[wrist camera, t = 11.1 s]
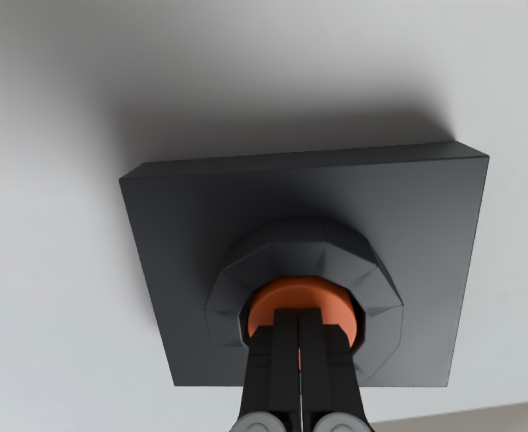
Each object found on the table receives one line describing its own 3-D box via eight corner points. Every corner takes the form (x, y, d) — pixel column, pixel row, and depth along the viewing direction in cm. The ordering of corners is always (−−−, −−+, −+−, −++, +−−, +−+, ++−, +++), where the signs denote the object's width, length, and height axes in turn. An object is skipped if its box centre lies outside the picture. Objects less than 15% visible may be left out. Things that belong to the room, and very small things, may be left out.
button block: (458, 140, 12) (528, 172, 9) (428, 348, 16) (467, 429, 13) (143, 162, 13) (88, 197, 10) (187, 350, 17) (160, 424, 14)
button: (349, 254, 12) (359, 284, 10) (348, 333, 13) (356, 370, 12) (248, 258, 12) (241, 287, 11) (257, 335, 14) (253, 370, 12)
